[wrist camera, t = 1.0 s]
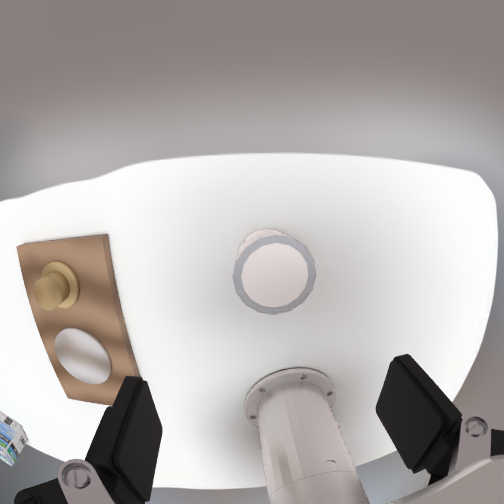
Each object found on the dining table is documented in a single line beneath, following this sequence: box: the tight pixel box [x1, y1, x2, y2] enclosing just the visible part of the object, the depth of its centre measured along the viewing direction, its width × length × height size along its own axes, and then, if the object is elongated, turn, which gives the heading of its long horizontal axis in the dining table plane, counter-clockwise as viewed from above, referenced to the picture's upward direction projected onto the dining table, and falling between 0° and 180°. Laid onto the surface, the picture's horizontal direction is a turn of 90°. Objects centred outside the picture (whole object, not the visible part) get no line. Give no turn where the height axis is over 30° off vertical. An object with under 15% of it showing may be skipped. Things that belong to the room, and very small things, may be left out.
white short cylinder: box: [233, 229, 316, 314], centre depth 26 cm, size 7×7×7 cm
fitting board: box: [17, 234, 140, 406], centre depth 27 cm, size 24×14×5 cm, turn 3°
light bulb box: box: [0, 411, 28, 466], centre depth 30 cm, size 11×7×11 cm, turn 75°
